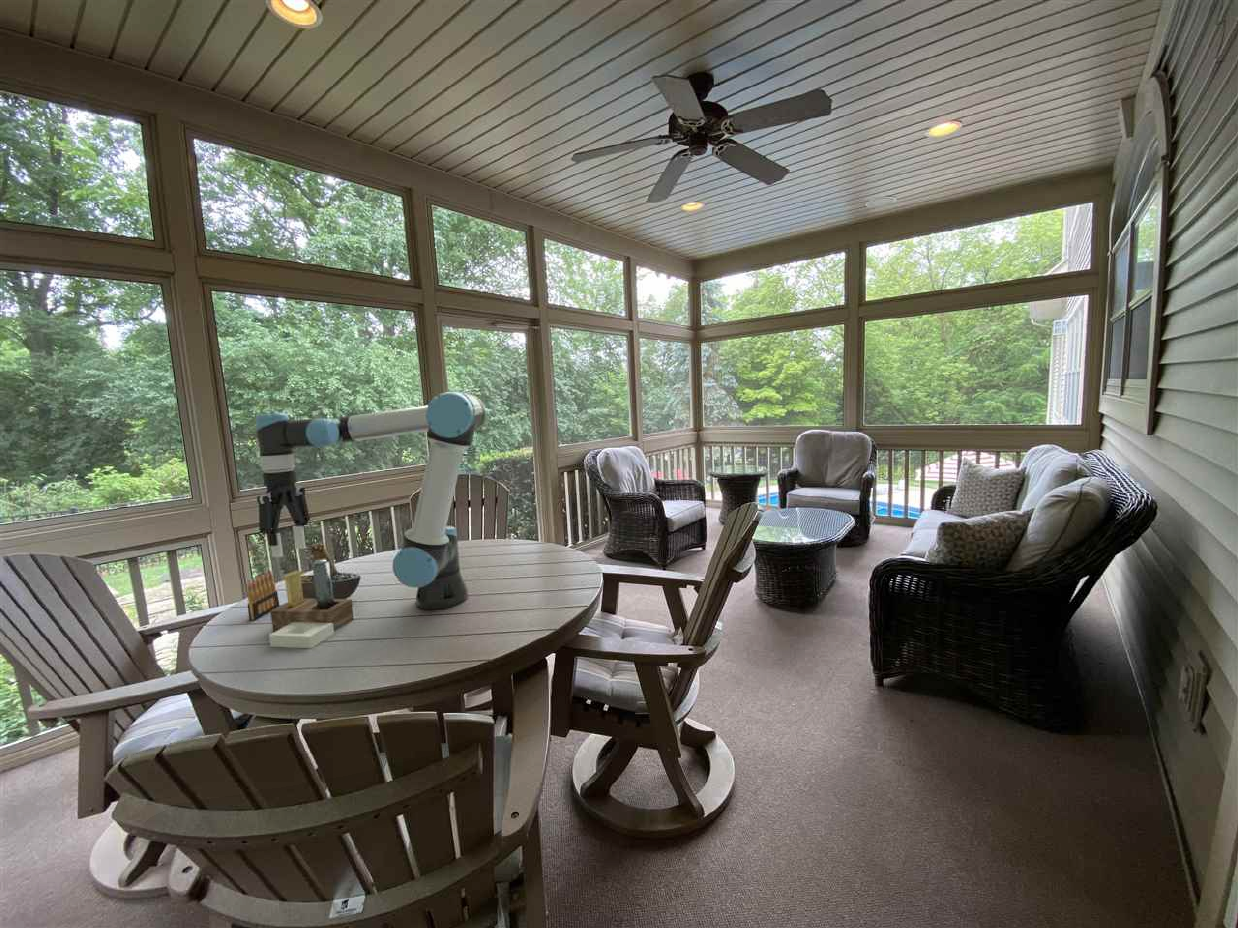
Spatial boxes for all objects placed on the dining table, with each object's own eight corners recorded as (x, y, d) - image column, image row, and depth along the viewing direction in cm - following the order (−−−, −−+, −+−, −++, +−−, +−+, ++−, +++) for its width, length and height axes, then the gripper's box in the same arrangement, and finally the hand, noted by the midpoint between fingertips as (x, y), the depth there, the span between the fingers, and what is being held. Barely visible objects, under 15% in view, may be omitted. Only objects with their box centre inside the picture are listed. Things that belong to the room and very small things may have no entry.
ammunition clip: (255, 620, 148) (249, 581, 147) (249, 621, 148) (243, 581, 147) (279, 606, 159) (274, 569, 157) (273, 606, 159) (268, 569, 157)
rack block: (334, 633, 136) (332, 623, 136) (311, 647, 128) (309, 636, 128) (295, 632, 138) (293, 621, 138) (270, 646, 131) (268, 635, 130)
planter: (290, 606, 157) (282, 544, 155) (348, 590, 170) (341, 532, 167) (305, 618, 147) (296, 551, 145) (365, 600, 159) (358, 538, 157)
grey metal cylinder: (338, 616, 143) (332, 558, 141) (328, 622, 139) (321, 562, 137) (326, 615, 144) (319, 558, 142) (315, 621, 140) (308, 562, 138)
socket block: (353, 619, 145) (351, 599, 144) (330, 633, 136) (328, 612, 136) (298, 617, 148) (296, 598, 148) (273, 631, 140) (270, 610, 139)
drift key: (307, 604, 145) (303, 570, 144) (293, 611, 140) (288, 576, 139) (300, 604, 145) (295, 570, 144) (285, 611, 140) (281, 576, 139)
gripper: (296, 466, 149) (305, 542, 151) (233, 476, 129) (245, 563, 132) (318, 465, 147) (328, 542, 150) (258, 475, 128) (270, 563, 130)
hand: (289, 552), depth 141 cm, fingers open, 7 cm apart
